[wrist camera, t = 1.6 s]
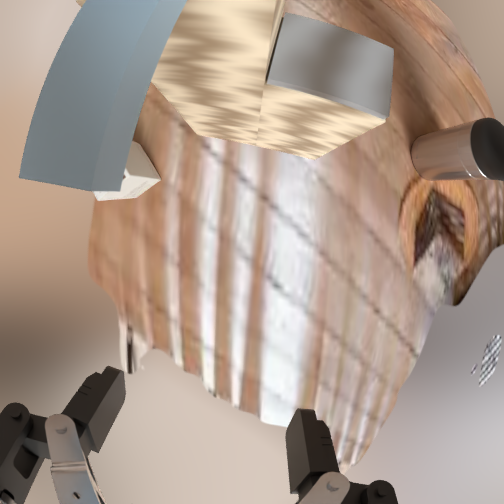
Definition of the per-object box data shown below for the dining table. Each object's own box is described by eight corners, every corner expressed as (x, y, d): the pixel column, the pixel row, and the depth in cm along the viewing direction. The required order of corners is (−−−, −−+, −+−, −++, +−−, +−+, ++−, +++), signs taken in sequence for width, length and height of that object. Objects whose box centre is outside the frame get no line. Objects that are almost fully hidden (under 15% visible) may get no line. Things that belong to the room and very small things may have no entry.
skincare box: (116, 162, 43) (70, 153, 29) (142, 142, 43) (101, 123, 28) (137, 200, 45) (94, 203, 30) (164, 180, 44) (129, 174, 30)
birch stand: (322, 120, 43) (458, -6, 6) (314, 160, 44) (475, 80, 8) (208, 95, 42) (134, -71, 5) (197, 135, 43) (75, 1, 7)
